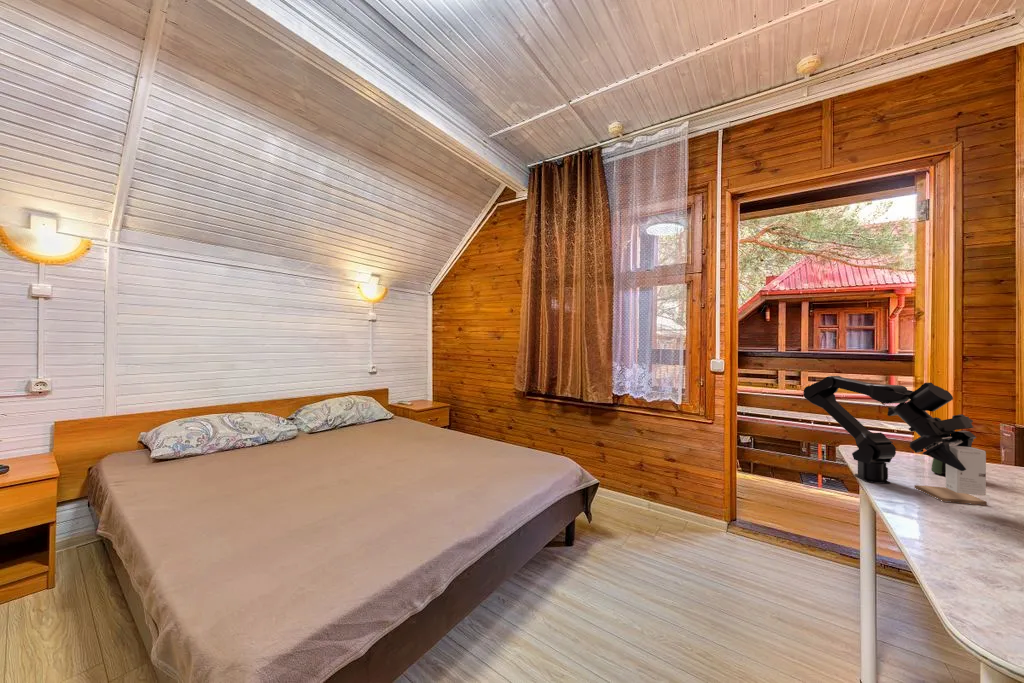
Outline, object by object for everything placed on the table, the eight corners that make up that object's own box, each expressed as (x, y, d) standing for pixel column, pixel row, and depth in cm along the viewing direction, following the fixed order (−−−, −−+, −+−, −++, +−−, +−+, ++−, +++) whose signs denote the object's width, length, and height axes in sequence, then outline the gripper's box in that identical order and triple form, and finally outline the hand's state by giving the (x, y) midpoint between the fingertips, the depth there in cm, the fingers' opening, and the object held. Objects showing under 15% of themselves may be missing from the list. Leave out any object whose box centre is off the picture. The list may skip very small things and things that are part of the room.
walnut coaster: (942, 501, 107) (942, 498, 107) (914, 488, 117) (914, 485, 117) (986, 505, 105) (986, 501, 105) (954, 491, 114) (954, 488, 114)
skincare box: (957, 493, 101) (957, 449, 101) (944, 487, 105) (944, 444, 105) (987, 496, 99) (987, 451, 99) (972, 489, 104) (972, 446, 104)
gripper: (924, 406, 104) (983, 457, 93) (966, 403, 109) (1026, 451, 98) (888, 427, 111) (939, 477, 101) (929, 424, 116) (981, 471, 106)
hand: (972, 469), depth 101 cm, fingers closed on skincare box, 7 cm apart
